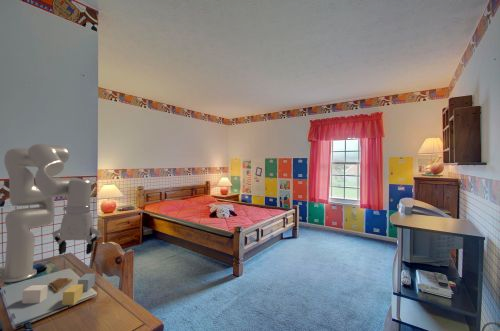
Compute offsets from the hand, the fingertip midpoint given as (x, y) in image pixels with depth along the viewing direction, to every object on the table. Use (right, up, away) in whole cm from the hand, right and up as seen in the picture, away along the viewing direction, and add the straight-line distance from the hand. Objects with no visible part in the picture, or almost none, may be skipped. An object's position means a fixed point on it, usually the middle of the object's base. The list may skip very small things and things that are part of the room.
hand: (75, 253), depth 93 cm
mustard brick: (-1, -19, 0) cm, 19 cm away
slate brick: (-3, -19, +10) cm, 21 cm away
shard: (-14, -19, +11) cm, 26 cm away
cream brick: (-15, -18, -1) cm, 24 cm away
